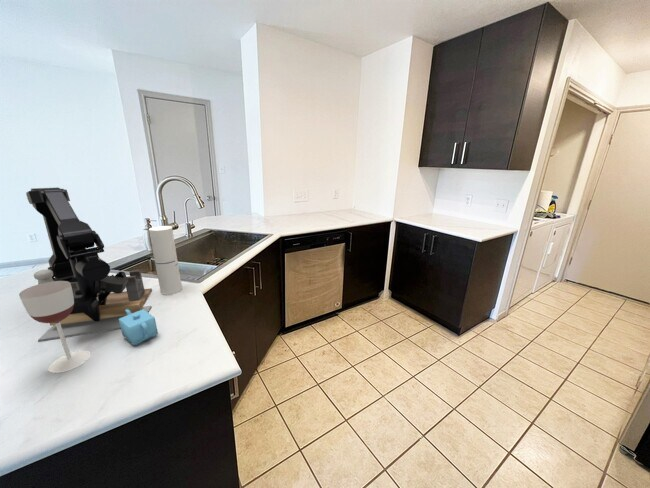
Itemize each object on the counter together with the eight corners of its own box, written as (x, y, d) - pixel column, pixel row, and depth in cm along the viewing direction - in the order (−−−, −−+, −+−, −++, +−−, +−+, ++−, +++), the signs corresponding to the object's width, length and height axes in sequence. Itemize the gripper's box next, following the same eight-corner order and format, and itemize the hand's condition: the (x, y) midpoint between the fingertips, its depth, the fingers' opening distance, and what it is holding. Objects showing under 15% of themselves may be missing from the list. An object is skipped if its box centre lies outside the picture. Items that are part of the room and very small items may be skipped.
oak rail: (56, 320, 76) (53, 311, 75) (143, 308, 83) (141, 300, 82) (50, 325, 73) (47, 316, 72) (140, 313, 80) (138, 304, 79)
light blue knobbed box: (118, 334, 74) (112, 311, 71) (142, 323, 78) (137, 302, 76) (136, 350, 67) (130, 326, 65) (161, 338, 72) (156, 315, 70)
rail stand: (80, 299, 91) (73, 273, 88) (152, 290, 98) (147, 266, 95) (60, 317, 80) (51, 289, 77) (142, 306, 88) (136, 279, 85)
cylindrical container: (156, 292, 97) (144, 229, 90) (173, 284, 103) (163, 225, 96) (169, 296, 95) (158, 231, 87) (186, 288, 101) (176, 227, 93)
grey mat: (62, 319, 79) (61, 317, 79) (151, 307, 87) (151, 305, 87) (38, 341, 70) (37, 339, 69) (141, 325, 77) (141, 323, 77)
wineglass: (53, 379, 58) (24, 301, 52) (42, 363, 62) (14, 290, 56) (97, 358, 64) (76, 287, 58) (84, 345, 69) (63, 277, 63)
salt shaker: (50, 311, 83) (37, 275, 79) (36, 309, 84) (24, 273, 80) (70, 302, 89) (59, 268, 85) (57, 300, 90) (46, 266, 86)
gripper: (107, 281, 68) (119, 331, 72) (131, 257, 84) (140, 299, 89) (53, 286, 64) (70, 339, 69) (89, 261, 81) (101, 304, 85)
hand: (100, 318), depth 78 cm, fingers closed on oak rail, 3 cm apart
